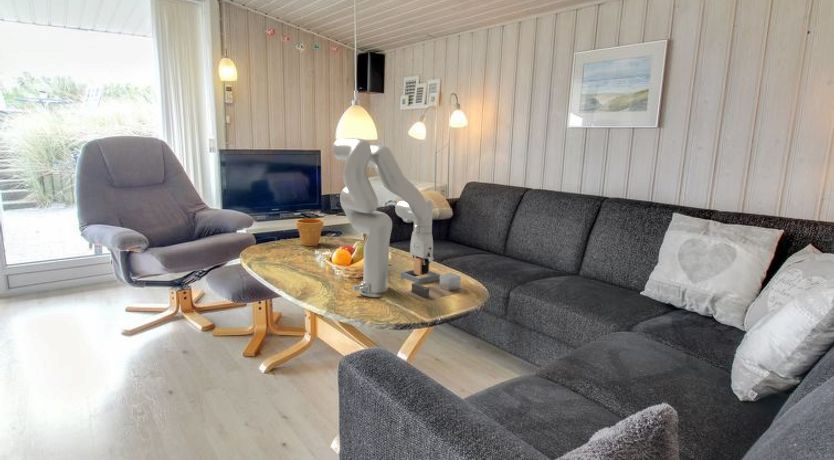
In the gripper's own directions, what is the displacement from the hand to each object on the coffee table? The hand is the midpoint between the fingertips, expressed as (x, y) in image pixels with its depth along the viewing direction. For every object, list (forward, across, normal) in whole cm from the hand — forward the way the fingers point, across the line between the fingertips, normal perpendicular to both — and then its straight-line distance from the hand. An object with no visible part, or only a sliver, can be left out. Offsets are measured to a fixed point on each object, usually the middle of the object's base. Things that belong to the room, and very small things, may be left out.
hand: (421, 271), depth 203 cm
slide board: (+4, +17, -7) cm, 19 cm away
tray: (+4, 0, 0) cm, 4 cm away
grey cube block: (+2, +17, +1) cm, 17 cm away
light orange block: (+1, 0, 0) cm, 1 cm away
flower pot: (+4, -84, -9) cm, 85 cm away
